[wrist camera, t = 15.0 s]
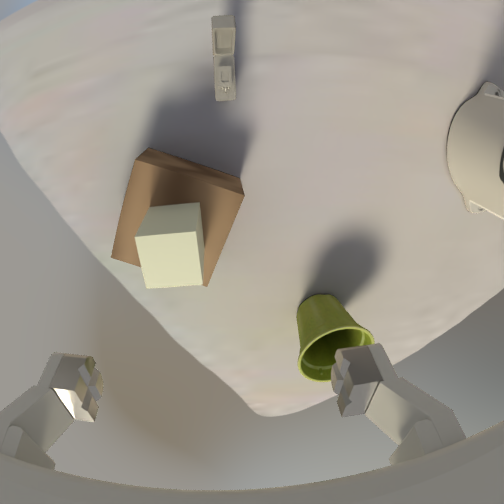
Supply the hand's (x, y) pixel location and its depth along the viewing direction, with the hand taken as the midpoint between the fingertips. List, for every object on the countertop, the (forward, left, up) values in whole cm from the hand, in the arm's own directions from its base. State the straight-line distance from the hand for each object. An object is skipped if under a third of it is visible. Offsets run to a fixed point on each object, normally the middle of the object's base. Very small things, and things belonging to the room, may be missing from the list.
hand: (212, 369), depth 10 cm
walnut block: (+4, +4, -26) cm, 26 cm away
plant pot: (-13, +19, -26) cm, 35 cm away
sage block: (+3, +4, -20) cm, 20 cm away
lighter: (-1, -11, -26) cm, 28 cm away
